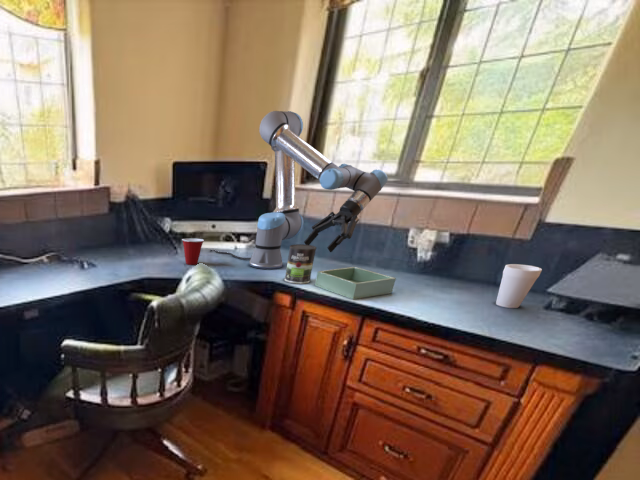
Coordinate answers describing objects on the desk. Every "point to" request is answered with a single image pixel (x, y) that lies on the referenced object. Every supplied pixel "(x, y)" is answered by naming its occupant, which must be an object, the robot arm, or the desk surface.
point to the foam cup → (516, 284)
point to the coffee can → (300, 263)
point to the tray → (355, 282)
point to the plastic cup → (192, 250)
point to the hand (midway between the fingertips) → (317, 247)
